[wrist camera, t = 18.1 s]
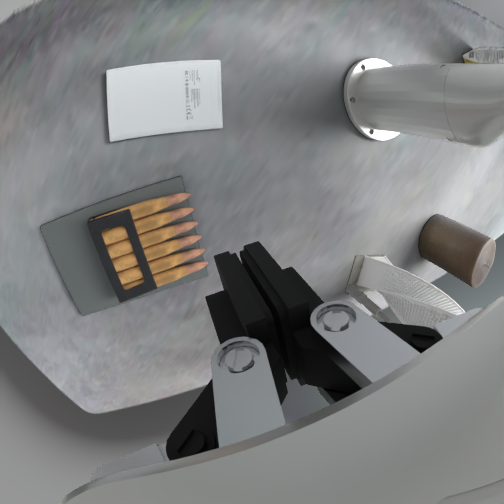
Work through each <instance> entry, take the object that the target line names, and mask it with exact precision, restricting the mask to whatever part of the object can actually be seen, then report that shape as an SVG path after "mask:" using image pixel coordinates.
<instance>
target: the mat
mask: <svg viewBox="0 0 504 504" xmlns="http://www.w3.org/2000/svg"><path fill="white" fill-rule="evenodd" d="M177 193H185V189H184V185H183V181H182V177H181V176H178V177H175V178H171V179H168V180H165V181H162V182H158V183H155V184H152V185H149V186H146V187H142V188H139V189H136V190H133V191H130V192H127V193H124V194H122V195H119V196H116V197H113V198H110V199H107V200H105V201H102V202H99V203H96V204H94V205H91V206H88V207H86V208H83V209H80V210H78V211H75V212H73V213H70V214H68V215H65V216H63V217H60V218H58V219H55V220H53V221H51V222H48V223H46V224H44V225H41V226H40V228H41V231H42V233H43V236H44V238H45V241H46V243H47V246H48V248H49V250H50V253H51V255H52V257H53V259H54V261H55V264H56V266H57V268H58V270H59V272H60V274H61V276H62V278H63V280H64V283H65V285H66V286H67V288H68V290H69V292H70V294H71V296H72V298H73V300H74V302H75V304H76V306H77V307H78V309H79V311H80V313H81V315H82V316H85V315H88V314H91V313H94V312H97V311H100V310H103V309H107V308H110V307H113V306H116V305H119V304H122V303H125V302H128V301H131V300H134V299H138V298H141V297H144V296H147V295H150V294H153V293H156V292H159V291H162V290H165V289H168V288H171V287H175V286H178V285H181V284H184V283H187V282H190V281H193V280H196V279H199V278H202V277H205V276H208V273H207V269H206V266H205V267H203V268H202V269H200V270H198V271H196V272H194V273H191V274H188V275H186V276H184V277H181V278H180V279H178V280H176V281H173V282H170V283H167V284H164V285H161V286H159V287H157V288H158V289H156V290H153V291H151V292H148V293H145V294H143V295H140V296H138V297H135V298H133V299H130V300H127V301H125V302H122V303H120V302H119V300H118V298H117V296H116V294H115V292H114V290H113V287H112V285H111V283H110V281H109V279H108V276H107V274H106V272H105V269H104V267H103V265H102V262H101V260H100V257H99V255H98V253H97V250H96V248H95V245H94V242H93V240H92V237H91V235H90V232H89V229H88V227H87V222H88V219H89V217H93V216H96V215H99V214H102V213H106V212H109V211H112V210H116V209H119V208H122V207H126V206H131V205H134V204H137V203H140V202H143V201H146V200H149V199H155V198H160V197H164V196H169V195H172V194H177ZM186 207H189V204H188V200H187V199H185V200H184V201H182V202H180V203H177V204H175V205H172V206H169V207H167V208H164V209H162V210H160V211H158V212H156V213H163V212H166V211H171V210H174V209H179V208H186ZM156 213H154V214H156ZM151 215H152V214H151ZM148 216H149V215H148ZM145 217H146V216H145ZM142 218H143V217H142ZM139 219H140V218H139ZM136 220H137V219H136ZM191 221H193V219H192V216H191V213H190V214H188V215H186V216H184V217H182V218H180V219H177V220H174V221H172V222H169V223H167V224H165V225H163V226H161V227H167V226H171V225H175V224H179V223H183V222H191ZM161 227H159V228H161ZM156 229H157V228H156ZM153 230H154V229H153ZM150 231H151V230H150ZM147 232H148V231H147ZM144 233H145V232H144ZM191 235H197V234H196V230H195V227H193V228H192V229H190V230H188V231H186V232H184V233H181V234H178V235H176V236H173V237H171V238H169V239H167V240H165V241H170V240H174V239H178V238H181V237H185V236H191ZM199 248H200V245H199V241H196V242H195V243H193V244H191V245H189V246H186V247H183V248H181V249H179V250H176V251H174V252H172V253H170V254H176V253H179V252H184V251H187V250H191V249H199ZM170 254H168V255H170ZM201 261H204V259H203V255H202V254H200V255H199V256H197V257H195V258H193V259H191V260H188V261H185V262H183V263H181V264H178V265H176V266H175V267H180V266H183V265H187V264H190V263H194V262H201Z"/></svg>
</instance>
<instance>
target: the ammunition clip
mask: <svg viewBox="0 0 504 504" xmlns="http://www.w3.org/2000/svg"><path fill="white" fill-rule="evenodd" d="M189 196H191V194H190V193H177V194H172V195H169V196H164V197H160V198H155V199H149V200H146V201H143V202H140V203H137V204H134V205H131V206H126V207H122V208H119V209H116V210H112V211H109V212H106V213H102V214H99V215H96V216H93V217H89V219H88V222H87V227H88V229H89V232H90V235H91V237H92V240H93V242H94V245H95V248H96V250H97V253H98V255H99V257H100V260H101V262H102V265H103V267H104V269H105V272H106V274H107V276H108V279H109V281H110V283H111V285H112V287H113V290H114V292H115V294H116V296H117V298H118V300H119V302H120V303H122V302H125V301H127V300H130V299H133V298H135V297H138V296H140V295H143V294H145V293H148V292H151V291H153V290H156V289H158V288H157V287H159V286H161V285H164V284H167V283H170V282H173V281H176V280H178V279H180V278H181V277H184V276H186V275H188V274H191V273H194V272H196V271H198V270H200V269H202V268H203V267H205V266H206V265H207V264H208V263H209V262H207V261H201V262H194V263H190V264H187V265H183V266H180V267H175V266H176V265H178V264H181V263H183V262H185V261H188V260H191V259H193V258H195V257H197V256H199V255H200V254H202V253H203V252H204V251H205V249H202V248H199V249H191V250H187V251H184V252H179V253H176V254H170V253H172V252H174V251H176V250H179V249H181V248H183V247H186V246H189V245H191V244H193V243H195V242H196V241H198V240H199V239H200V238H201V237H202V236H201V235H191V236H185V237H181V238H178V239H174V240H170V241H165V240H167V239H169V238H171V237H173V236H176V235H178V234H181V233H184V232H186V231H188V230H190V229H192V228H193V227H195V226H196V225H197V224H198V222H194V221H191V222H183V223H179V224H175V225H171V226H167V227H161V226H163V225H165V224H167V223H169V222H172V221H174V220H177V219H180V218H182V217H184V216H186V215H188V214H190V213H191V212H192V211H194V208H191V207H186V208H179V209H174V210H171V211H166V212H163V213H156V212H158V211H160V210H162V209H164V208H167V207H169V206H172V205H175V204H177V203H180V202H182V201H184V200H185V199H187V198H188V197H189ZM154 213H156V214H154ZM151 214H152V215H151ZM148 215H149V216H148ZM145 216H146V217H145ZM142 217H143V218H142ZM139 218H140V219H139ZM136 219H137V220H136ZM159 227H161V228H159ZM156 228H157V229H156ZM153 229H154V230H153ZM150 230H151V231H150ZM147 231H148V232H147ZM144 232H145V233H144ZM168 254H170V255H168Z"/></svg>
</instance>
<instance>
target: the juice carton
mask: <svg viewBox="0 0 504 504" xmlns="http://www.w3.org/2000/svg"><path fill="white" fill-rule="evenodd" d="M463 59H464V62H465V63H468V64H504V47H479V48H475V49H473V50H471V51H470V52H468V53H465V54H464V55H463Z"/></svg>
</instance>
